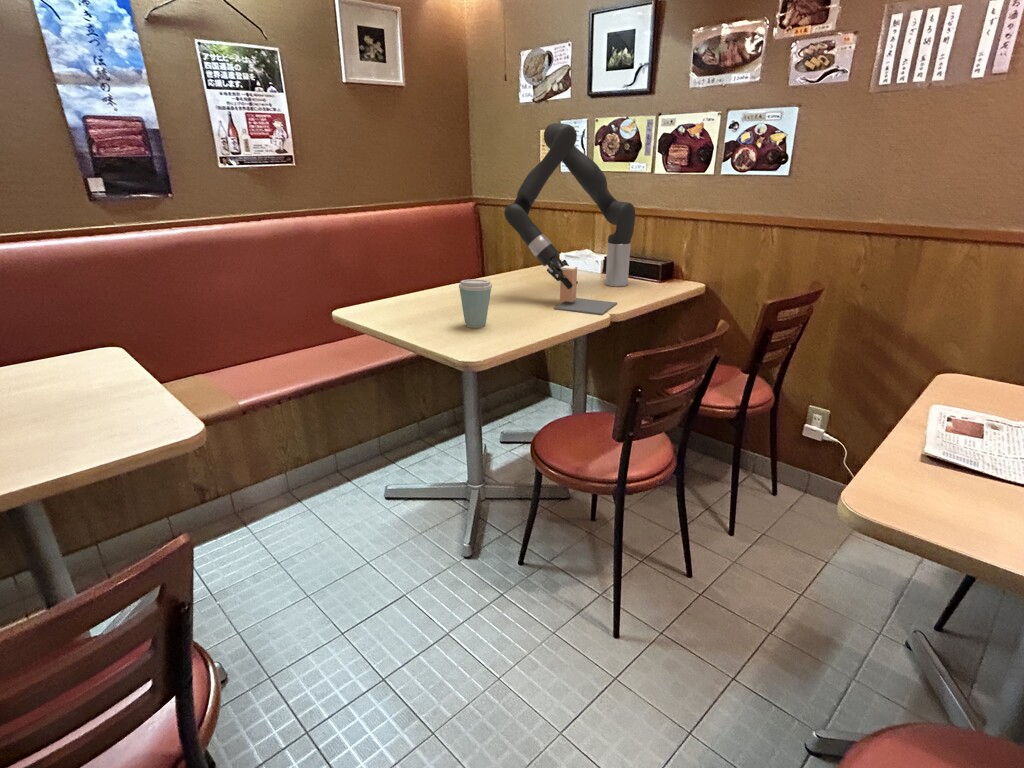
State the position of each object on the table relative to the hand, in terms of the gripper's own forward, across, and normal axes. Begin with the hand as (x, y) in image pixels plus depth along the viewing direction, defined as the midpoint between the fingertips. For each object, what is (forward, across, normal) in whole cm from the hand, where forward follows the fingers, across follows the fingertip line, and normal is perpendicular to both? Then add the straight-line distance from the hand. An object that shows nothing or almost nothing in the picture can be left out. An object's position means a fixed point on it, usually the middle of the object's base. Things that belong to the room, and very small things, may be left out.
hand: (573, 286), depth 213 cm
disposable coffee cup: (-8, -38, +19) cm, 43 cm away
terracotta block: (+2, 0, +5) cm, 6 cm away
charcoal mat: (+9, 0, +1) cm, 9 cm away
